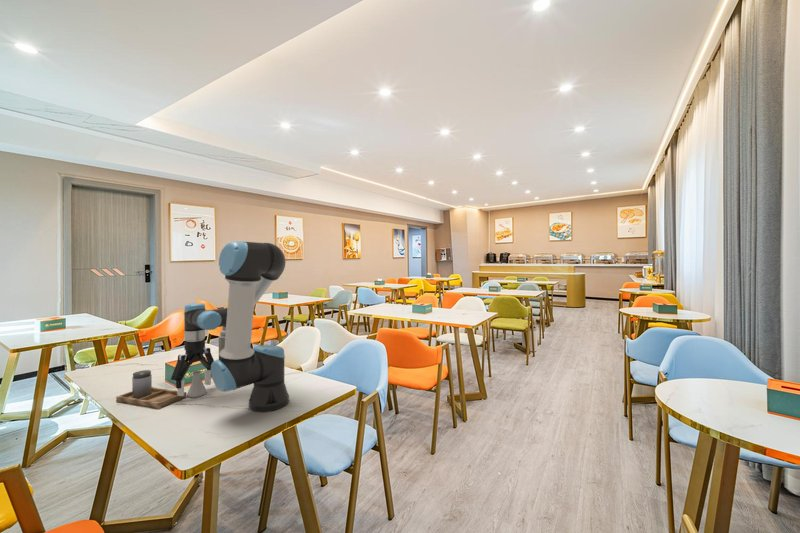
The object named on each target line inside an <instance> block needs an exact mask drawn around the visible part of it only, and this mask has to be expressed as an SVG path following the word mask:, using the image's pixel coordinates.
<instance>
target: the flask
mask: <svg viewBox="0 0 800 533" xmlns="http://www.w3.org/2000/svg"><path fill="white" fill-rule="evenodd" d="M191 373H192V380H191V384H190V386H189V389H188V391H187V392H186V398H189V399H190V398H199V397H202V396H205V395H206V394H208V390H207V389H206V387H205V384H204V383H203V380H202V377H201V376H202V375H201V373H202V371H201V370H195V371H192V372H191Z"/></svg>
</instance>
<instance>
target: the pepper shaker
mask: <svg viewBox="0 0 800 533" xmlns="http://www.w3.org/2000/svg"><path fill="white" fill-rule="evenodd" d="M152 379H153V378H152V371H151V370H150V369H145V370H139V371H136V372H133V373H132V380H131V381H132V383H131V384H132V385H131V386H132V390H131V391H132V398H135V399H140V398H143V397H145V396H148V395H151V394H152V387H153V384H152Z"/></svg>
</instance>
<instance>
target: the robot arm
mask: <svg viewBox="0 0 800 533" xmlns="http://www.w3.org/2000/svg"><path fill="white" fill-rule="evenodd" d="M218 266H219V271H220V273H221V274H223V275H224V276H225V277H224V280H226V281H227V282H228V283H229V286H228V298H227V299H228V300H227V307H226V308H225V307H224V308H223V307H222V308H215V309H206V305H205V304H204V303H202V302H201V303H200V302H195V303H188V304H185V306H184V312H183V315H184V322H183V323H184V324H183V325H184V330H183V331H184V333H183V334H184V336H183V338H184V342H183V343H184V345H183V346H184V351H185V353H184V354H178V355H177V362H176V365H175V367H174V369H173V373H172V374H171V377H170V380H171V381H175V389H177V390H176V391H177V396H184V392H185V379H184V377H185V375H186V374H187V372H188V370H189V368H190V367H191V365H193V363H197V362H200V364H201V365H203V367H204V368H205V369H204V386H205V385H207V386H211V384H212V381H213V383H214V386H215V387H216V388H217V390H219V391H221V392H224V393H226V392H230V391H235V390H237V389H239V388H244V387H246V386H250V385H252V384H253V387H252V390H251V393H250V395H249V396H250V397H249V399H248V408H249V409H250V410H251V411H254V412H260V413H261V412H263V413H264V412H271V411H275V410H279V409H281V408H284V407H285V406H287V405H288V404H289V402H290V395H289V393H288V390H287V386H286V384H285V358H286V357H285V350H284V348H283V347H281V346H279V345H271V344H270V345H269V344H265V345H262V344H261V345H256V346H254V347H253V348H252V347H251V343H252V335H253V334H252V333H253V332H252V331H253V322H254V321H253V319H254V310H255V309H254V308H255V306H256V304H257V303H258V302H259V300H261V298H262V297H263V295H264V294H265V292H266V291H267V290H268V288H269V287H270V286H271V284H273V282H274V281H277V280H279V278H281V276H282V274H283V272H284V270H285V268H286V257H285V254H284V252H283V250H282V249H281V248H280V247H279V246H277V245H276V244H273V243H272V242H271V243H270V242H256V241H254V242H253V241H244V240H243V241H230V242H228V243H226V244H225V245H224V247H222V249H221V251H220V254H219V256H218ZM223 326H226V334H225V347H224V349H222V350H221V351H220V352H219V351H218V359H215V360H214V358H213V355H212V353H211V348H210V347H206V340H205V338H206V331H211V330H215V329H217V328H220V327H221V328H222V327H223ZM211 380H212V381H211Z"/></svg>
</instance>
